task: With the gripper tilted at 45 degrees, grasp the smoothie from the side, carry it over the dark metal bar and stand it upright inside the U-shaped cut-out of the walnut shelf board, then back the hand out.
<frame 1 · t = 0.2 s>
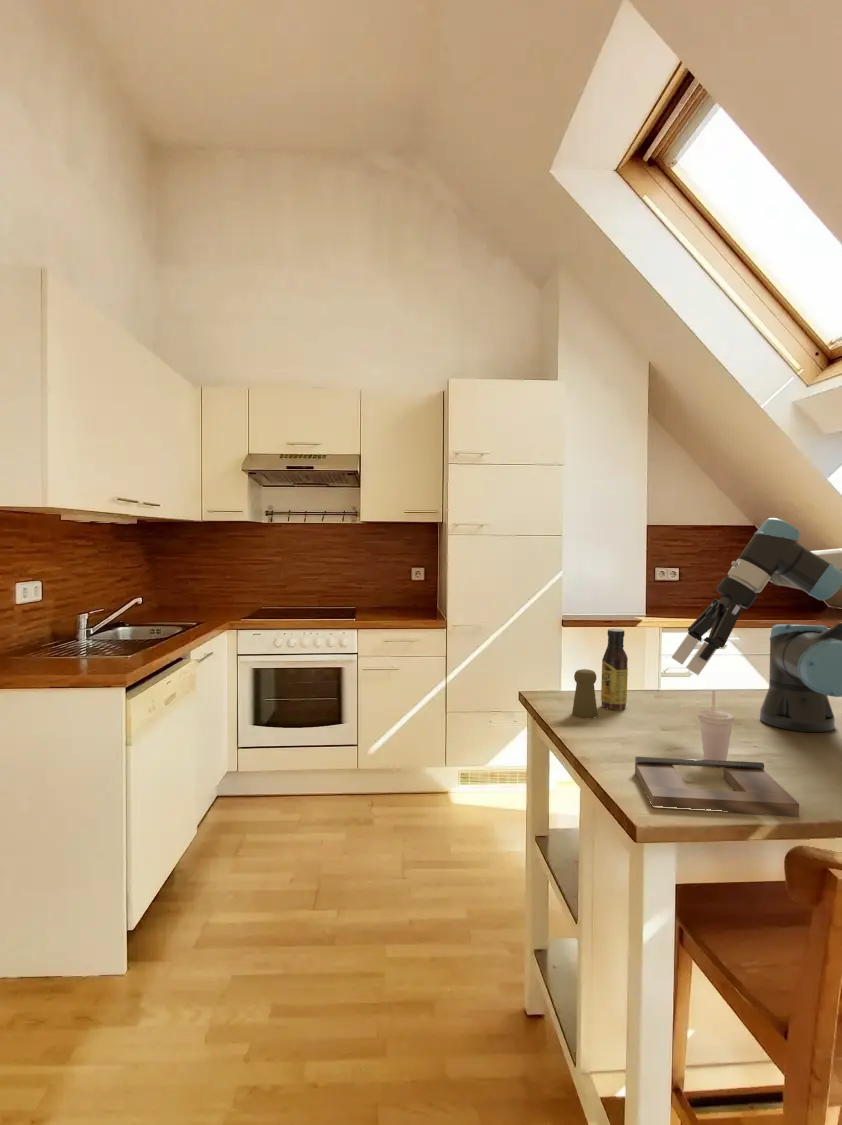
hand: (683, 666, 147), 15 cm above the table, tool tilted 35°, fingers open, 13 cm apart
hook bar: (698, 777, 123), resting on slot board
cork: (584, 715, 164), on the table
sauce bottle: (613, 708, 171), on the table
smoothie: (715, 765, 129), on the table
slot board: (710, 792, 115), on the table
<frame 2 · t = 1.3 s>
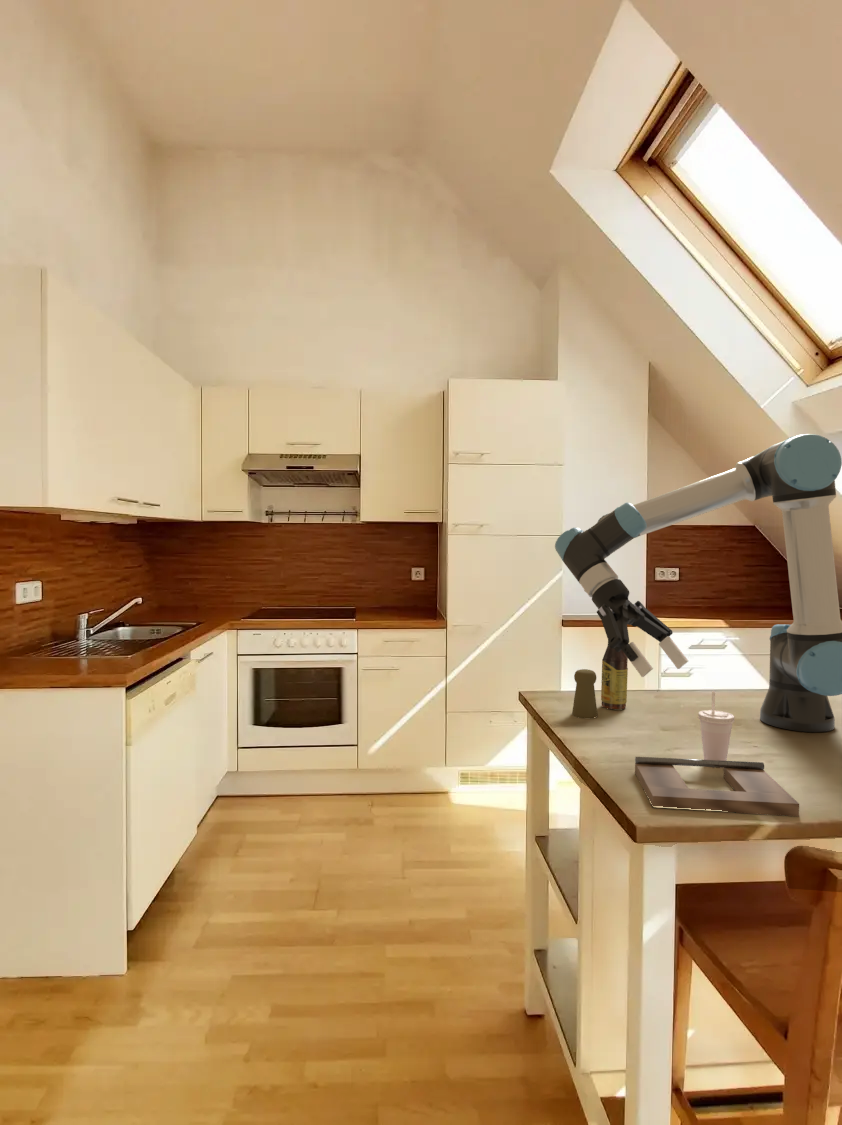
hand: (666, 669, 137), 17 cm above the table, tool tilted 45°, fingers open, 13 cm apart
nothing on the table moved.
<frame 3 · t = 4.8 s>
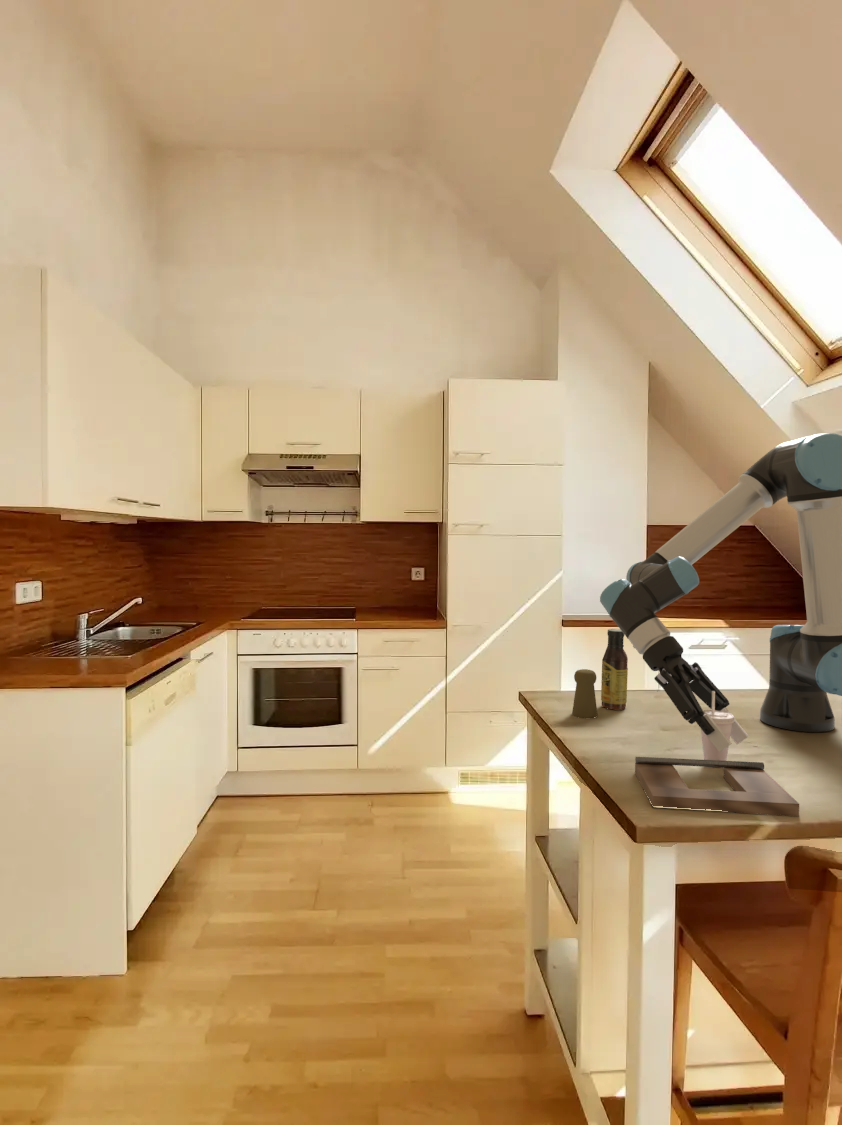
hand: (734, 743, 126), 5 cm above the table, tool tilted 45°, fingers closed on smoothie, 6 cm apart
smoothie: (715, 765, 129), on the table, touching gripper
everything else where it was.
when the fingers open (6 cm above the table, at t = 9.9 s): smoothie drops 1 cm, resting in slot board.
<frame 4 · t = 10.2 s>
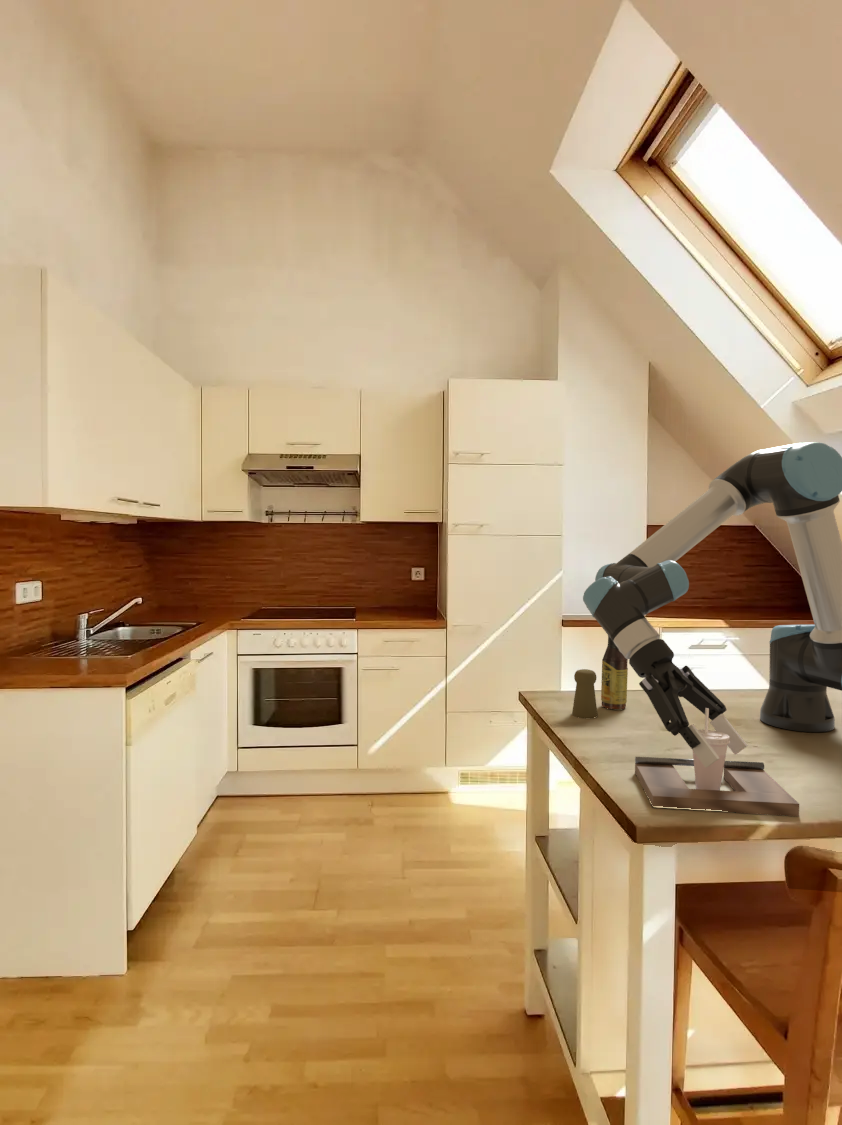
hand: (727, 756, 113), 7 cm above the table, tool tilted 45°, fingers open, 9 cm apart
smoothie: (707, 791, 116), resting in slot board
everything else where it was.
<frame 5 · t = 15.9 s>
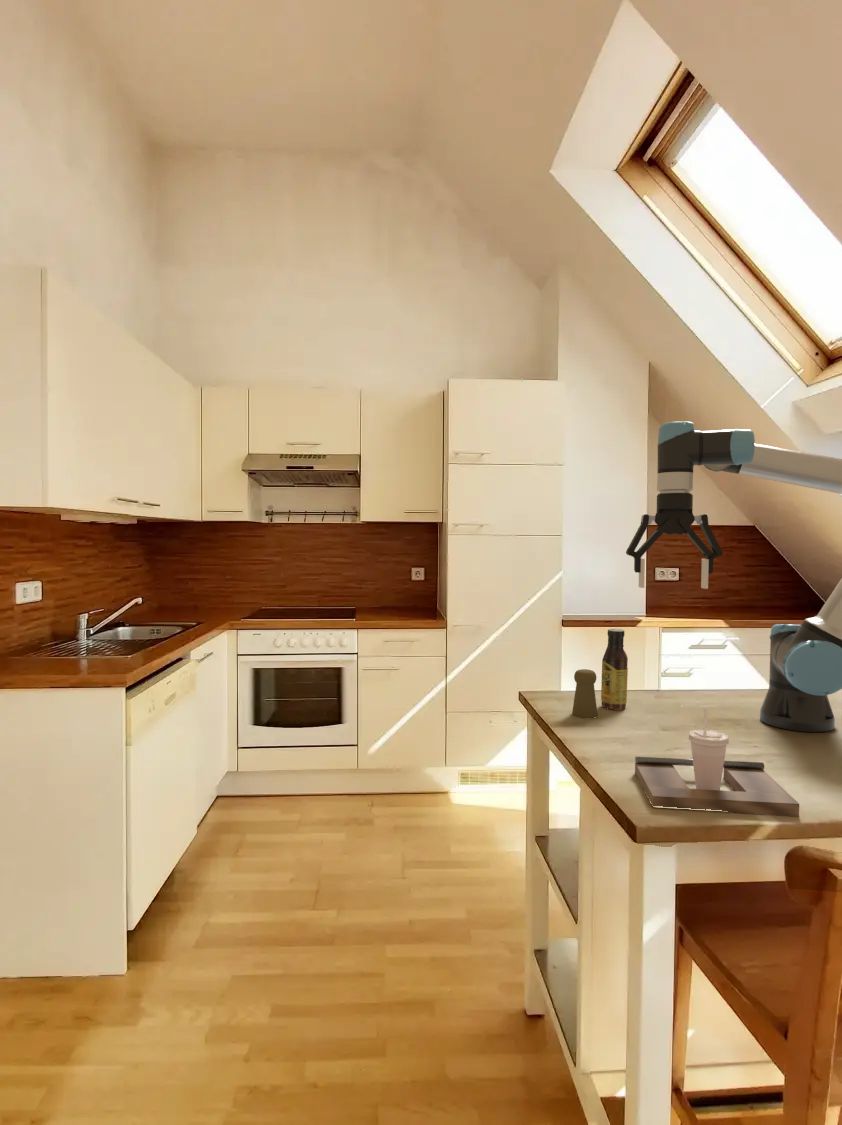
hand: (672, 588, 152), 32 cm above the table, tool pointing down, fingers open, 13 cm apart
nothing on the table moved.
at the end: smoothie 0.1 cm from the target spot, resting in slot board; smoothie tilted 0°; the gripper is holding nothing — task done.
